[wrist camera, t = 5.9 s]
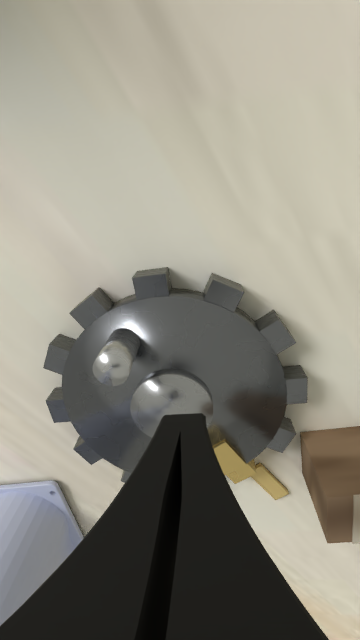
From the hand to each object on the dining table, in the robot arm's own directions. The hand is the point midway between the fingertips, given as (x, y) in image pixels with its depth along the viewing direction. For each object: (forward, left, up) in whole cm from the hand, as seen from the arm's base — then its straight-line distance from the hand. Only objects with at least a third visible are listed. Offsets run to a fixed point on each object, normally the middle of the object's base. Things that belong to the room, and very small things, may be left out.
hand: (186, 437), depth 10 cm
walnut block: (-11, -8, -10) cm, 17 cm away
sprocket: (-4, +2, -9) cm, 11 cm away
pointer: (-14, -3, -9) cm, 17 cm away
